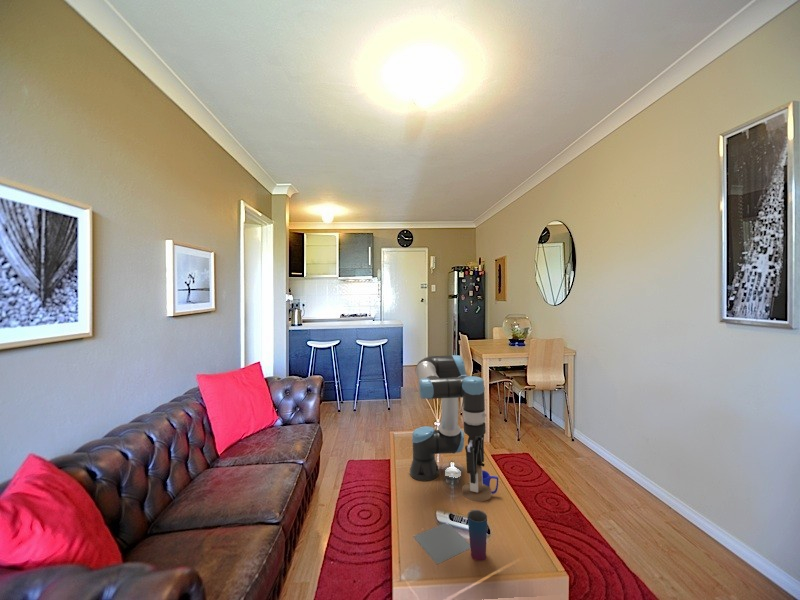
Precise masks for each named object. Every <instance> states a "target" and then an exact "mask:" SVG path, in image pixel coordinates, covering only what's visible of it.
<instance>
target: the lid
mask: <svg viewBox="0 0 800 600" xmlns="http://www.w3.org/2000/svg"><path fill="white" fill-rule="evenodd" d="M482 470H483V466H480V465H477V473H478V493H477V492H473V491H470V482H467V483H465V484H464V485H463V486H462V489H461V491H462V492H461V493H462V496H464V498H465V499H467V500H469V501H472V502H475V503H476V502H477V503H478V502H479V503H480V502H486V501H489V500H490V498H492V493H491V491H492V490H491V488H489V487H488V486H487V485H485V484H483V485H482Z"/></svg>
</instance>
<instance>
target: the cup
mask: <svg viewBox="0 0 800 600" xmlns="http://www.w3.org/2000/svg"><path fill="white" fill-rule="evenodd" d="M467 525H468V534H469V543H470V555H471V557H472V559H474V560H475V561H477V562H482V561H484V560H485V559H486V558H487V532H488V531H487V530H488V515H487V513H486V512H484V511H483V510H480V509H471V510H469V511H468V513H467Z"/></svg>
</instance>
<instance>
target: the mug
mask: <svg viewBox="0 0 800 600" xmlns="http://www.w3.org/2000/svg"><path fill="white" fill-rule="evenodd" d="M491 479H493V480H495V479H496V487H495V489H494V490H493V491H492V490H491V495H493V494H496V493H497V491H498V489H499V488H498V487H499V477H498V476H496V475H495V476H494V475H490V473H489V472H488V471H486V470H483V469H482V481H483V484H485V485H487V486H488V487H489V488H490V485H491ZM490 489H491V488H490Z"/></svg>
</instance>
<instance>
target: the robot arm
mask: <svg viewBox="0 0 800 600" xmlns="http://www.w3.org/2000/svg"><path fill="white" fill-rule="evenodd" d="M414 370H415V371H414V372H415V375H416V377H417V379H418V380H419V381H418V394H419V397H420V399H425V400H432V399H433V400H435V399H441V413H440V414H441V416H440V417H441V420H440V421H441V422H440V424H439V426H438V429H434V428H435V427H432V426H428V425H426V426H425V425H424V426H421V427H417V428H416V429H414V430H413V431H412V438H411V442H412V461H411V465H410V468H409V475H410V476H411V478H413V479H414V480H416V481H422V482H425V481H426V482H427V481H432V480H434V479H436V478H437V477H439V474H440V472H439V471H440V470H439V469H440V468H439V466H438V463H437V461H436V455H441V454H443V455H444V454H445V455H446V454H458V453H459V454H460V453H462V452H463V450H464V451H465V459H466V474H469V483H470V491H473V492H477V493H478V473H477V465H480V466H481V467H482V468H483V467H485V465H486V464H485V463H484V462H485V446H484V445H485V441H484V440H485V434H486V427H487V426H486V417H487V413H486V403H485V402H486V401H485V400H486V399H485V397H486V396H485V390H486V388H485V387H486V386H485V381H484V379H483V378H482V377H479V376H476V375H475V376H473V375H471V376H470V375H468V374H467V373H466V372H467V371H466V366H465V362H464V359H463V357H462V356H461V355H458V354H457V355H453V354H452V355H431V356H426V357H424V358H423V359H421V360H420V361H418V362H417V364H416V365H415V369H414ZM460 398H462V405H463V406H462V407H463V408H462V413H463V414H462V415H463V418H462V419H463V429H461V426H460V425H459V399H460ZM465 434H466V435H467V436H468V439H467V445H465ZM464 446H465V449H464ZM482 485H483V481H482Z"/></svg>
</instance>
